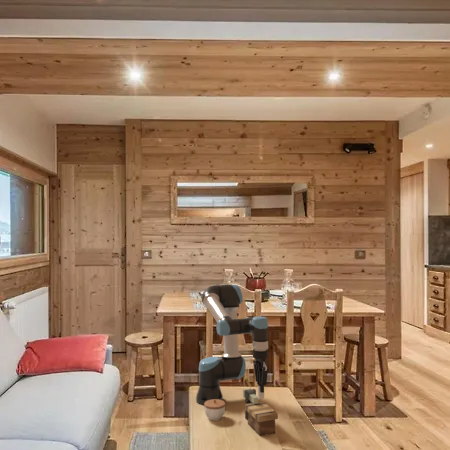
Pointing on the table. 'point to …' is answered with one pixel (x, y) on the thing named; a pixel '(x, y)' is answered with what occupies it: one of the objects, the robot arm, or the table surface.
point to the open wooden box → (261, 426)
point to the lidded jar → (214, 409)
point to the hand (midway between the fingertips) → (261, 398)
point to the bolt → (251, 396)
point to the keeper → (248, 400)
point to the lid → (261, 411)
